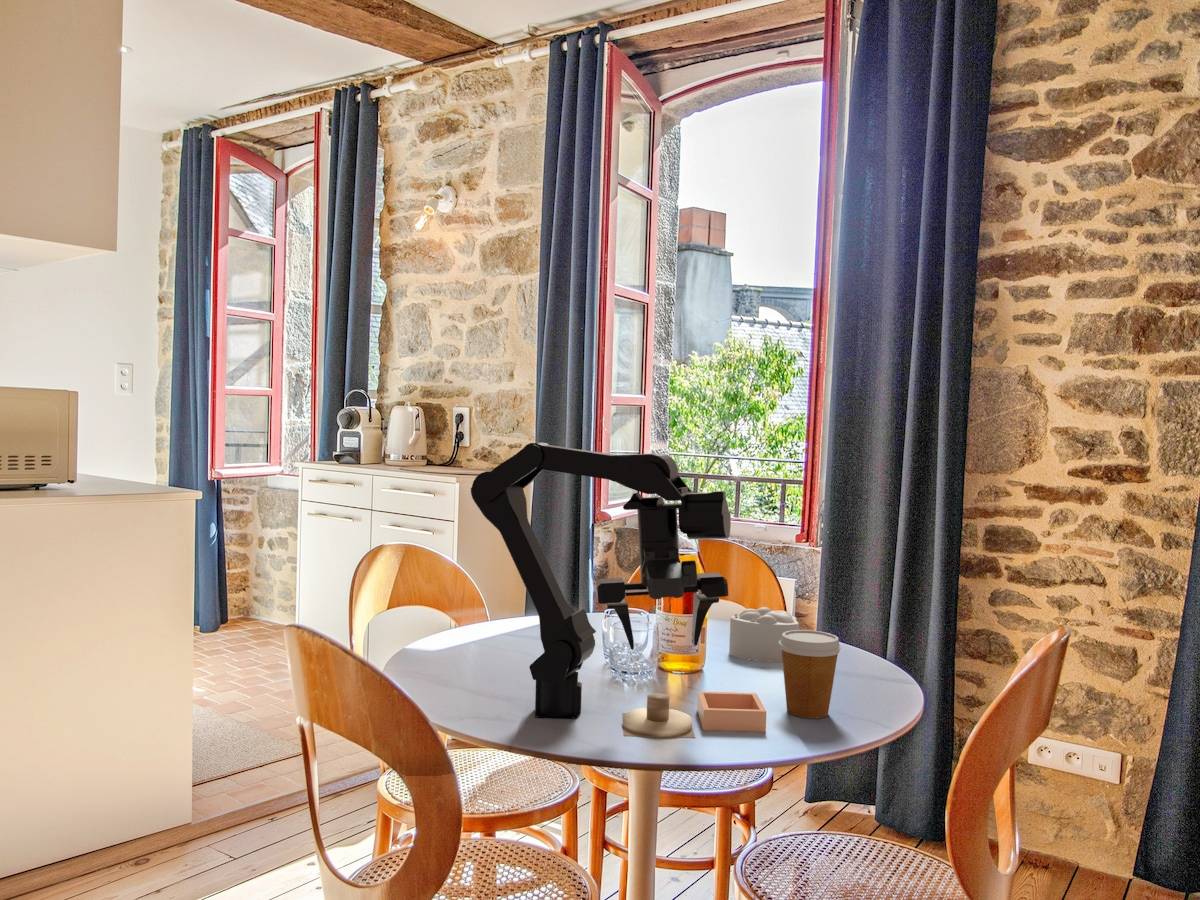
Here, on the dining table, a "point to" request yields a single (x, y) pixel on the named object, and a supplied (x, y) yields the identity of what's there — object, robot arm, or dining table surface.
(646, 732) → the lid
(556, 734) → the dining table surface
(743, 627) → the lumpy-topped squat cylinder
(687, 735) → the mat
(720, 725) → the dish
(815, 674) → the disposable coffee cup
